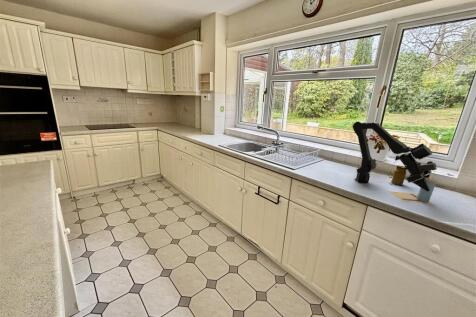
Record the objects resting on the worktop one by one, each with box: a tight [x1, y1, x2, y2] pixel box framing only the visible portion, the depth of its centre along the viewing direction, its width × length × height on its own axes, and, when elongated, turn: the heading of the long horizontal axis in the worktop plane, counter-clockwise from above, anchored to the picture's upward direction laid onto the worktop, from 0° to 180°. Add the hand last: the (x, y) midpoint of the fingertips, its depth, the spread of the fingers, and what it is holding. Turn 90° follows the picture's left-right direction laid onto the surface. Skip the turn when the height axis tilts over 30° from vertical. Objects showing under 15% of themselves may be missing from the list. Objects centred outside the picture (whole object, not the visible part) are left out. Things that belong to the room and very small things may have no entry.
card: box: [388, 190, 433, 205], centre depth 114 cm, size 15×13×1 cm
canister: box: [417, 177, 438, 203], centre depth 108 cm, size 5×5×12 cm
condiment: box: [389, 165, 408, 187], centre depth 131 cm, size 7×8×12 cm
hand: (430, 190), depth 107 cm, fingers closed on canister, 5 cm apart
